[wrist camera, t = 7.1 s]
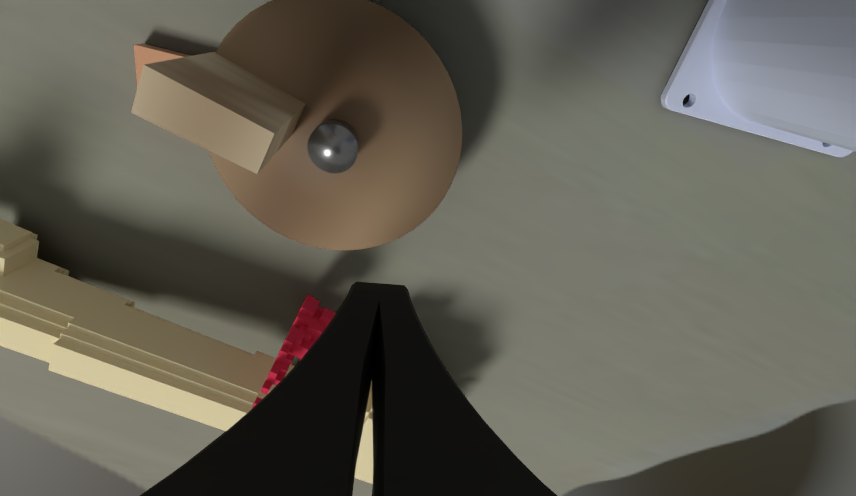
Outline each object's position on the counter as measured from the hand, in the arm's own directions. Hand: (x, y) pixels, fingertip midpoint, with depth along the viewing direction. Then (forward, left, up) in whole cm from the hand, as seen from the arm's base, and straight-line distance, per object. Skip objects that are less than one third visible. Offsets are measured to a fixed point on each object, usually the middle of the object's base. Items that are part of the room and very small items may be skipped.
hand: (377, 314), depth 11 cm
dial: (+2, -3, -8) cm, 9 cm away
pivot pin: (+2, -3, -6) cm, 6 cm away
